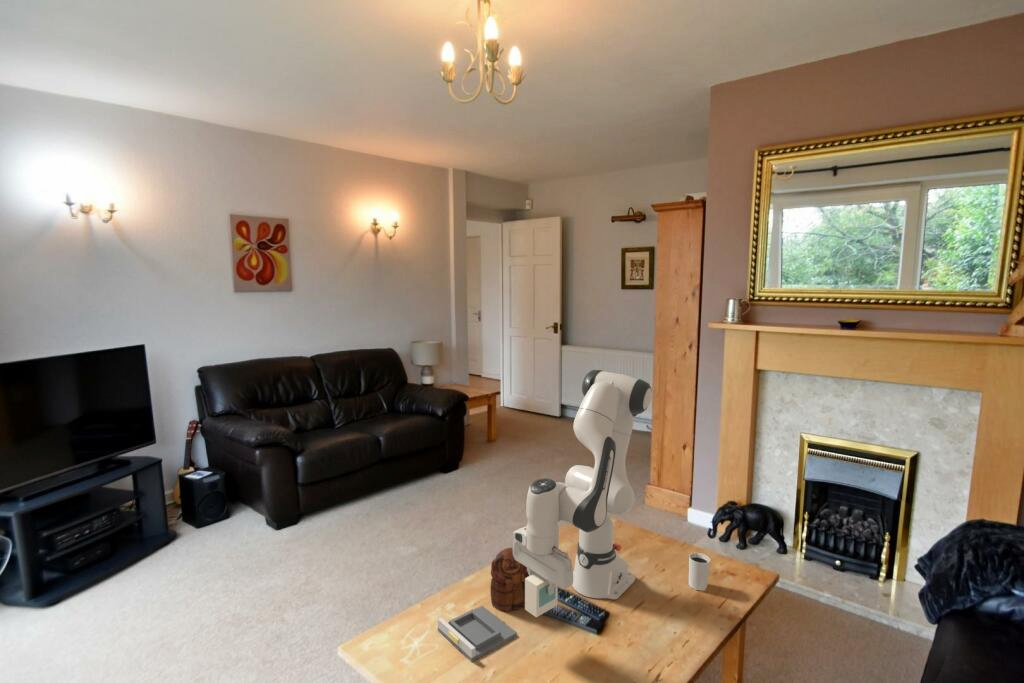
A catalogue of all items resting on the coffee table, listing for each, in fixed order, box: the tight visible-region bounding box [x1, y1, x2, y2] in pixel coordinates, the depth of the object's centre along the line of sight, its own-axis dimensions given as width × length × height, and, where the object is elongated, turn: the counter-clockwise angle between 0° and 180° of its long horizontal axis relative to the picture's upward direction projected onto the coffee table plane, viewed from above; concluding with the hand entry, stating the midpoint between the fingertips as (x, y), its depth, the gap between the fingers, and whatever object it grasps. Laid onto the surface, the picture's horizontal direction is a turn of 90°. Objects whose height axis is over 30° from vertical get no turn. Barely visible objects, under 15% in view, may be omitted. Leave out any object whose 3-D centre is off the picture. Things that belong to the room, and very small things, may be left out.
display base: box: [437, 605, 518, 662], centre depth 149 cm, size 16×16×4 cm
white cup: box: [688, 552, 711, 590], centre depth 174 cm, size 7×7×10 cm
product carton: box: [524, 573, 559, 618], centre depth 143 cm, size 5×8×9 cm, turn 131°
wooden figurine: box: [490, 547, 529, 612], centre depth 161 cm, size 12×6×18 cm, turn 110°
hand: (541, 588), depth 143 cm, fingers closed on product carton, 5 cm apart
